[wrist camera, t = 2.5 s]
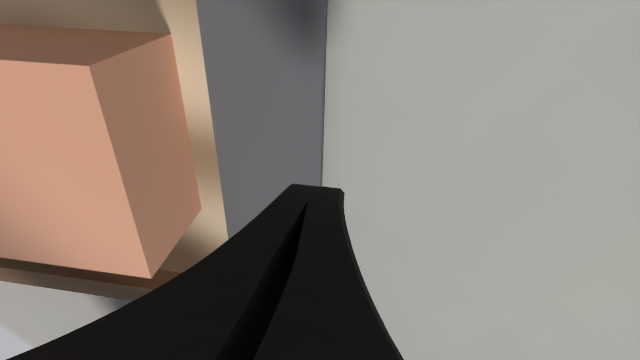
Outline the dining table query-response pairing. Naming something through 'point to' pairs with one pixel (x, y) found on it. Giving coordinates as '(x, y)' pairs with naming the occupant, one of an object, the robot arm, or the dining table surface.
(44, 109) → the block
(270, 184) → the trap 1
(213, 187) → the dark brown flat frame
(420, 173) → the dining table surface
